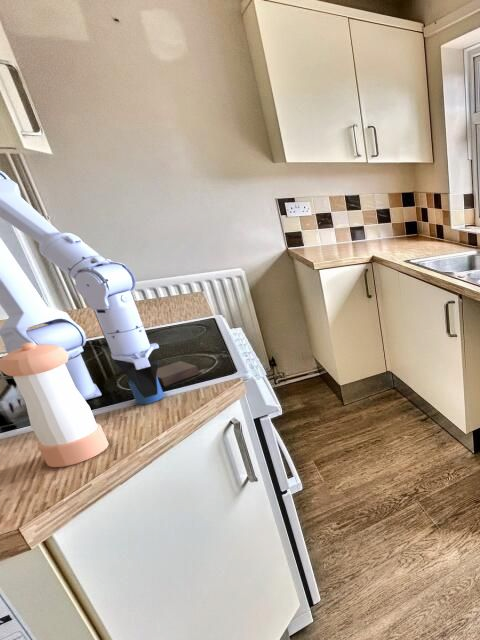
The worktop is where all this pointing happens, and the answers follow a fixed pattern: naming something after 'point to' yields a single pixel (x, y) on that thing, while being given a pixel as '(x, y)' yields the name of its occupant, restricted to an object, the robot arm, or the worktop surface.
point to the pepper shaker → (54, 405)
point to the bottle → (142, 400)
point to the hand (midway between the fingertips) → (147, 392)
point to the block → (175, 372)
